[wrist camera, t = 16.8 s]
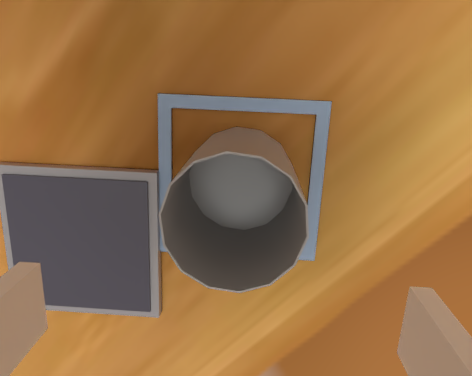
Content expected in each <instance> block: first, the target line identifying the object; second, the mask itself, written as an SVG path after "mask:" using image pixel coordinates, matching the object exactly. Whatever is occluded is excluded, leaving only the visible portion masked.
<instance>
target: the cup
mask: <svg viewBox="0 0 472 376" xmlns="http://www.w3.org/2000/svg"><path fill="white" fill-rule="evenodd" d="M159 221H160V228H161V235H162V242H163V246H164V248H165V249H166V251H167V252H168V253H169V255H170V256H171V258H172V259H173V261H174V262H175V264H176V265H177V267H178V268H179V270H180V271H181V272H182V273H184V274H186V275H187V276H189V277H191V278H192V279H194V280H195V281H197V282H199V283H200V284H202V285H204V286H205V287H207V288H210V289H216V290H223V291H229V292H236V293H242V292H246V291H250V290H254V289H258V288H262V287H266V286H270V285H272V284H273V283H274V282H275V281H277V280H278V279H279V278H280V277H282V276H283V275H284V274H285V273H287V272H288V271H289V270H291V269H292V268H293V267H294V266H295V265H296V263H297V261H298V259H299V257H300V255H301V253H302V251H303V249H304V246H305V244H306V242H307V240H308V238H309V227H308V205H307V202H306V199H305V197H304V194H303V192H302V189H301V186H300V184H299V181H298V178H297V176H296V173H295V171H294V168H293V165H292V163H291V161H290V160H289V158H288V156H287V154H286V153H285V151H284V149H283V147H282V145H281V144H280V143H279V142H277V141H276V140H274V139H273V138H271V137H270V136H269V135H267V134H266V133H264V132H263V131H261V130H256V129H250V128H243V127H233V128H230V129H227V130H224V131H221V132H217V133H214V134H213V135H212V136H211V137H210V138H209V139H207V140H206V141H205V142H204V143H203V144H202V145H201V146H200V147H199V148H198V149H197V150H196V151H195V152H194V154H193V155H192V156H191V157H190V159H189V160H188V161H187V162H186V164H185V165H184V166H183V167H182V169H181V170H180V171H179V172H178V174H177V175H176V176H175V177H174V179H173V180H172V181H171V182H170V184H169V185H168V188H167V191H166V194H165V197H164V200H163V203H162V206H161V209H160V212H159Z"/></svg>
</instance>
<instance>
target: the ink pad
mask: <svg viewBox="0 0 472 376" xmlns="http://www.w3.org/2000/svg"><path fill="white" fill-rule="evenodd" d="M0 212H1V219H2V226H3V234H4V241H5V248H6V256H7V263H8V270H10V269H11V268H12V267H13V266H15V265H16V264H17V263H18V262H32V263H40V266H41V274H42V283H43V291H44V300H45V308H46V310H54V311H69V312H83V313H98V314H113V315H128V316H143V317H157V318H159V317H160V314H161V312H162V292H161V251H160V221H159V170H147V169H128V168H109V167H90V166H71V165H52V164H33V163H15V162H0Z"/></svg>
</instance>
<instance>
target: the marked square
mask: <svg viewBox="0 0 472 376" xmlns="http://www.w3.org/2000/svg"><path fill="white" fill-rule="evenodd" d="M331 103H332V101H314V100H292V99H270V98H248V97H226V96H204V95H182V94H160V93H158V149H159V212H160V209H161V206H162V203H163V200H164V197H165V194H166V191H167V188H168V185H169V184H170V182H171V181H172V108H187V109H208V110H229V111H251V112H272V113H294V114H315V115H316V121H315V131H314V142H313V152H312V162H311V172H310V182H309V193H308V203H307V205H308V227H309V238H308V240H307V242H306V244H305V246H304V249H303V251H302V253H301V255H300V257H299V259H298V260H310V261H315V252H316V242H317V233H318V224H319V215H320V205H321V196H322V187H323V178H324V168H325V159H326V150H327V141H328V131H329V122H330V113H331ZM160 251H162V252H167V251H166V249H165V248H164V246H163V242H162V235H161V228H160Z"/></svg>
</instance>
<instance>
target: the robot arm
mask: <svg viewBox="0 0 472 376" xmlns="http://www.w3.org/2000/svg"><path fill="white" fill-rule="evenodd" d="M47 328H48V326H47V317H46V308H45V300H44V291H43V283H42V274H41V266H40V263H32V262H18V263H17V264H16V265H15V266H13V267H12V268H11V269H10V270H9V271H7V272H6V273H5V274H4V275H2V276H1V277H0V376H9V375H10V374H11V373H12V371H13V370H14V369H15V368H16V367H17V365H18V364H19V363H20V362H21V360H22V359H23V358H24V357H25V355H26V354H27V353H28V352H29V351H30V349H31V348H32V347H33V346H34V344H35V343H36V342H37V341H38V340H39V338H40V337H41V336H42V335H43V333H44V332H45V331H46V330H47ZM397 354H398V356H399V358H400V360H401V362H402V364H403V366H404V368H405V370H406V372H407V374H408V376H472V337H471V336H470V335H469V333H468V332H467V331H466V330H465V328H464V327H463V326H462V325H461V323H460V322H459V321H458V320H457V318H456V317H455V316H454V315H453V314H452V312H451V311H450V310H449V308H448V307H447V306H446V305H445V303H444V302H443V301H442V300H441V298H440V297H439V296H438V295H437V293H436V292H435V291H434V290H433V288H425V287H410V288H409V293H408V298H407V303H406V308H405V314H404V319H403V324H402V329H401V334H400V339H399V345H398V350H397Z"/></svg>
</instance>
